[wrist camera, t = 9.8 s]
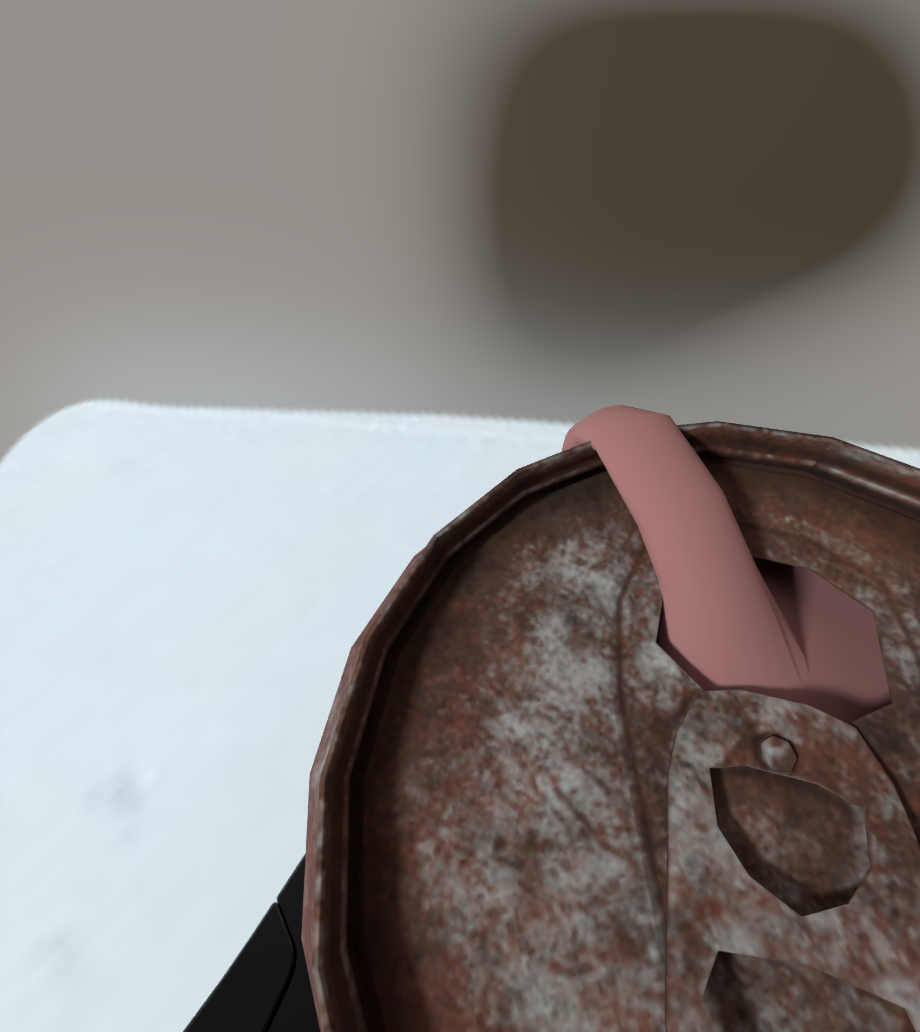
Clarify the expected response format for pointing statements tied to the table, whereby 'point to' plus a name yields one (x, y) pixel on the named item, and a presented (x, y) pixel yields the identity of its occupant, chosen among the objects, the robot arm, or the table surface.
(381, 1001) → the can
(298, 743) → the table surface
